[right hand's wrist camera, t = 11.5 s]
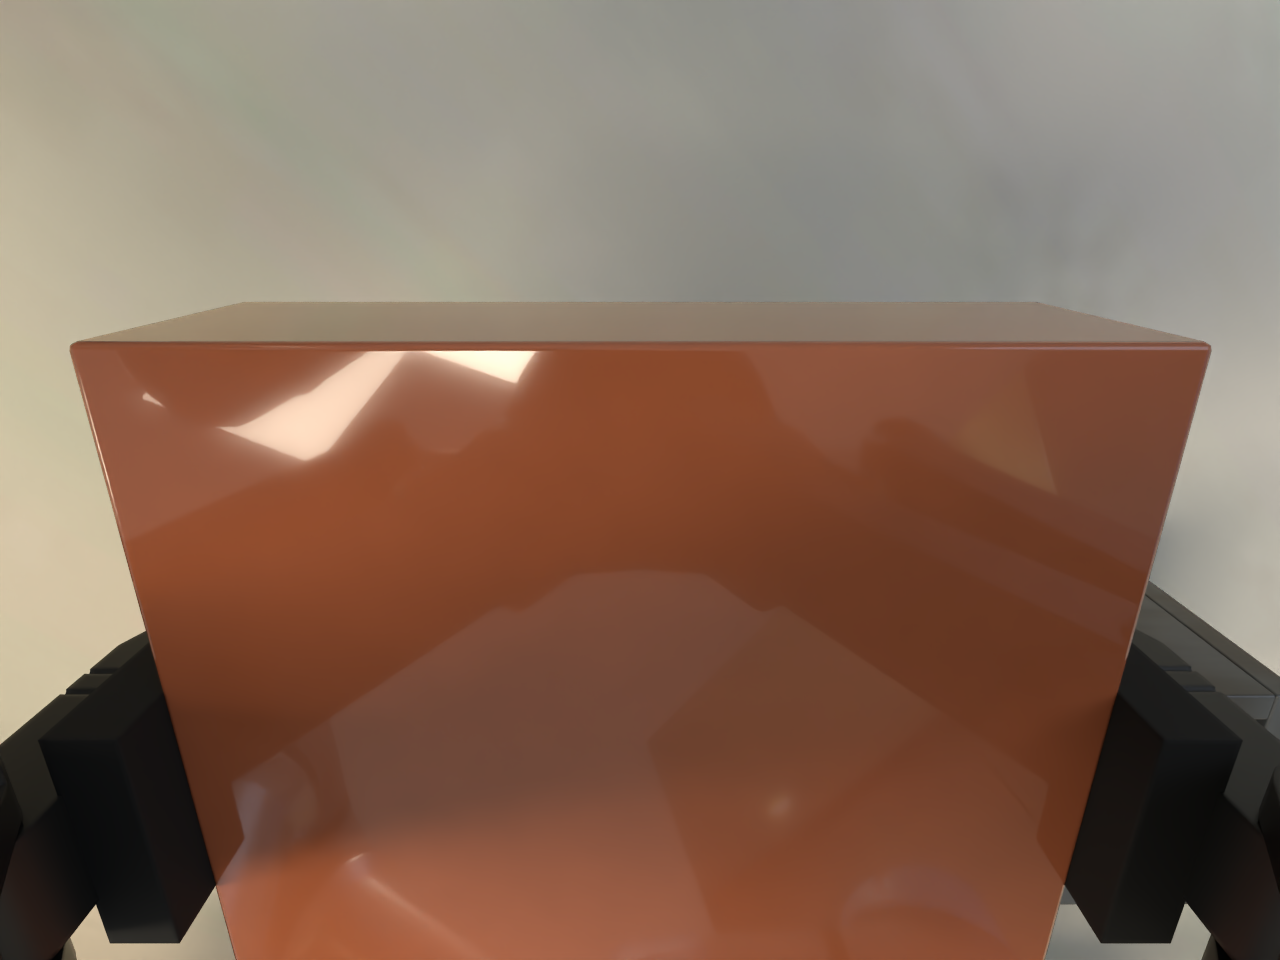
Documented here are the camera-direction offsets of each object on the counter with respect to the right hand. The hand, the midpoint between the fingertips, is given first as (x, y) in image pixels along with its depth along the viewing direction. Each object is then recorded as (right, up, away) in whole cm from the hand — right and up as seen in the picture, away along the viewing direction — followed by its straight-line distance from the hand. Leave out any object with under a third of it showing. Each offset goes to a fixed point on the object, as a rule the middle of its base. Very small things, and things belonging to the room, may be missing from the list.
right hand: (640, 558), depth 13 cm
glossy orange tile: (0, -1, -2) cm, 2 cm away
